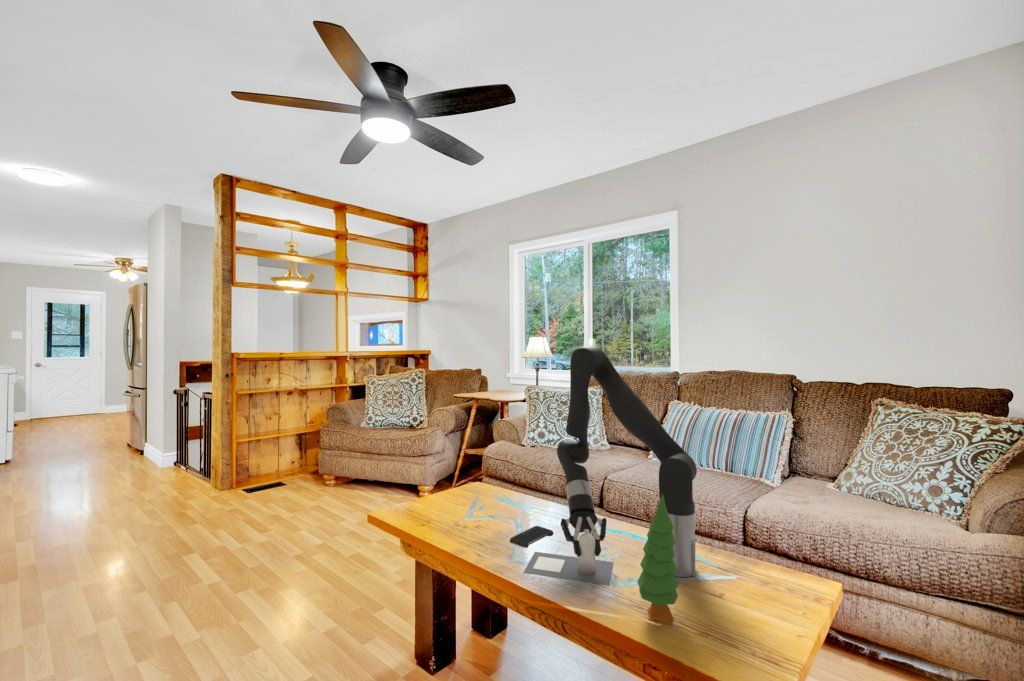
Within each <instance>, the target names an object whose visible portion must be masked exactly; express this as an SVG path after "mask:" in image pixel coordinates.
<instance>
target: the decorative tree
mask: <svg viewBox="0 0 1024 681" xmlns="http://www.w3.org/2000/svg"><path fill="white" fill-rule="evenodd" d="M656 507H657V508H656V511H655V513H654V516H653V518H652V520H651V523H650V524H649V527H650V528H649V529H648V531H647V534H646V537H647V539H646V542H645V544H644V546H643V548H642V549H643V550H642V551H643V553H644V556H643V558H642V560H641V561H640V567H641V569H642V572H641V573H640V576H639V577H638V579H637V585H638V590H639V594H640V597H641V599H642V600H644V601H646V602H649V603H650V604H651V605H650V606H649V608H648V609H647V610H646V612H647V615H648V617H649V618H650V619H648V621H649V622H652V623H655V624H663V625H668V624H669V623H670V622H671V621H672V620H673V619H674V616H673V614H672V612H671V608H670V607H669V605H675V604H676V601H678V600H677V599H678V598H679V595H678V592H677V588H678V586H679V584H680V583H679V581H678V578H677V576H675V575H674V572H675V571H677V568H676V566H675V563H674V561H673V558H674V556H675V554H674V550H673V545H674V544H675V540H674V536H673V533H672V530H673V528H674V527H673V525H672V522H671V520H670V518H669V516H668V512H667V509H666V505H665V501H664V496H663V494H662V496H661V498H659V501H658V504H657V506H656Z"/></svg>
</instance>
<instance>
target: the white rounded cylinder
mask: <svg viewBox="0 0 1024 681" xmlns="http://www.w3.org/2000/svg"><path fill="white" fill-rule="evenodd" d="M578 541H579V546H580V553H581V554H580V557H578V570H579V571H580V572H582V573H585V574H591V573H594V572H595V560H596V554H595V538H594V537H593V535H591V534H590V533H589V529H585V532H582V533H581V535H579V536H578Z"/></svg>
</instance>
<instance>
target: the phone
mask: <svg viewBox="0 0 1024 681" xmlns="http://www.w3.org/2000/svg"><path fill="white" fill-rule="evenodd" d="M553 534H554V531H553V530H552V529H548V528H545V527H543V526H540V525H534V526H532V527H530V528H528V529H526V530H524V531H522V532H519V533H518V534H516V535H514V536H511V537H510V539H509V540H510V542H511V543H514V544H517V545H519V546H522V547H525V548H528V547H529V546H530V545H531V544H534V543H535V542H537V541H539V540H541V539H543V538H545V537H550V536H552V535H553Z"/></svg>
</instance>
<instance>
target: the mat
mask: <svg viewBox="0 0 1024 681" xmlns="http://www.w3.org/2000/svg"><path fill="white" fill-rule="evenodd" d="M613 568H614V561H606V560H598V559H595V572H594V573H591V574H585V573H582V572H580V571H579V570H578V557H577V556H569V555H563V554H554V553H546V552H540V551H534V553H533V555H532V556H531V558H530V560H528V564H527V565H526V566H525V569H524V570H523V572H522V573H523V574H529V575H536V576H541V577H542V576H543V577H548V578H549V577H550V578H555V579H556V578H557V579H563V580H569V581H577V582H581V583H582V582H583V583H590V584H596V585H603V586H611V579H612V572H613Z"/></svg>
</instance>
